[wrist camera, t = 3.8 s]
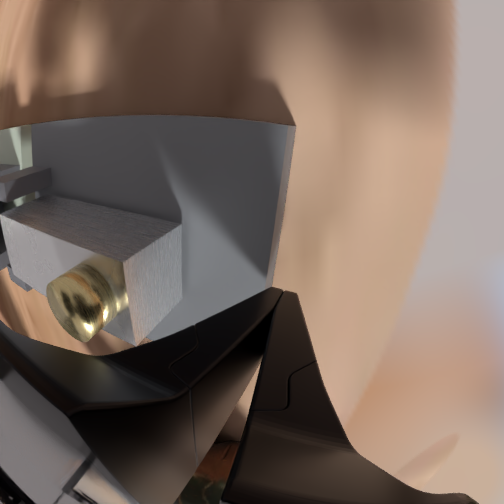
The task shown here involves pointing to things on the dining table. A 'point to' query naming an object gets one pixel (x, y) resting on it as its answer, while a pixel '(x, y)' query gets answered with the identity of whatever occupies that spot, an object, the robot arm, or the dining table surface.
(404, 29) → the dining table surface
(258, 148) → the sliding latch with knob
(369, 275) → the dining table surface
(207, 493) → the decorative turtle
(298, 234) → the dining table surface
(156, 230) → the drawer with brass knob
